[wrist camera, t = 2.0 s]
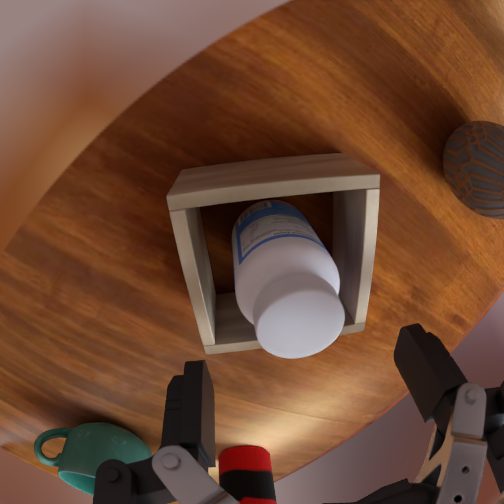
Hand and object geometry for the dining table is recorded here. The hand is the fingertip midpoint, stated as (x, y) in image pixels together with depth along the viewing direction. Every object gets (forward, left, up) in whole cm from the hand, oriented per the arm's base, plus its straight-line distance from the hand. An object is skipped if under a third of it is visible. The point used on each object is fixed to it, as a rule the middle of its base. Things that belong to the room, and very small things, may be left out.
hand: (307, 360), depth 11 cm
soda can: (+35, -6, -12) cm, 37 cm away
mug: (+26, -25, -12) cm, 38 cm away
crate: (0, 0, -11) cm, 11 cm away
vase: (-5, +16, -12) cm, 20 cm away
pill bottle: (0, 0, -12) cm, 12 cm away
